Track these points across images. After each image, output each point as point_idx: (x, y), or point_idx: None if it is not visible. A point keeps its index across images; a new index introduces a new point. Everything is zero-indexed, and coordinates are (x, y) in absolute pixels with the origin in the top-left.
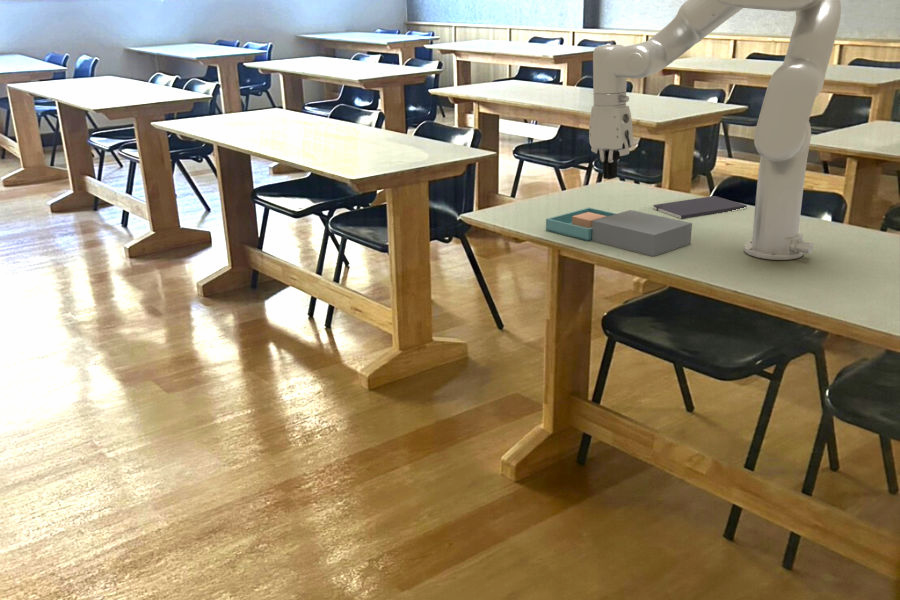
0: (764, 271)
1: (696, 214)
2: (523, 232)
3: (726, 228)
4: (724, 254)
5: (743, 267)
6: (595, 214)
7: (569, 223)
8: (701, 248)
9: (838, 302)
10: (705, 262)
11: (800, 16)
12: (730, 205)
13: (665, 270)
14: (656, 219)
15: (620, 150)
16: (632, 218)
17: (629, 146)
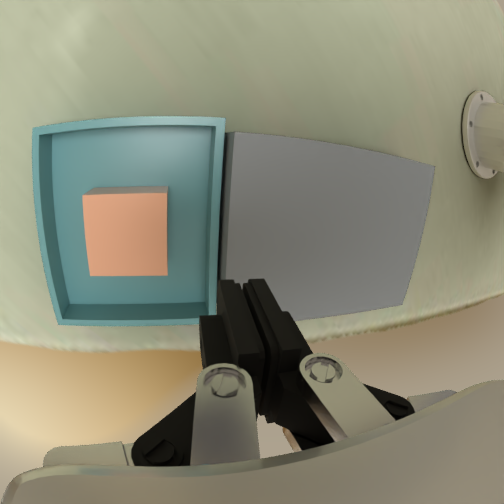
0: (485, 224)
1: None
2: (56, 346)
3: (392, 9)
4: (451, 185)
5: (472, 227)
6: (122, 204)
7: (59, 230)
8: None
9: None
10: (440, 244)
11: None
12: None
13: (406, 316)
14: (366, 188)
15: (395, 420)
16: (306, 227)
17: (490, 389)
